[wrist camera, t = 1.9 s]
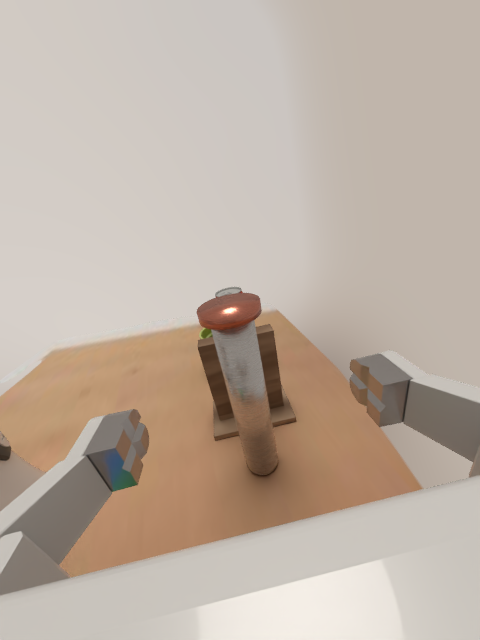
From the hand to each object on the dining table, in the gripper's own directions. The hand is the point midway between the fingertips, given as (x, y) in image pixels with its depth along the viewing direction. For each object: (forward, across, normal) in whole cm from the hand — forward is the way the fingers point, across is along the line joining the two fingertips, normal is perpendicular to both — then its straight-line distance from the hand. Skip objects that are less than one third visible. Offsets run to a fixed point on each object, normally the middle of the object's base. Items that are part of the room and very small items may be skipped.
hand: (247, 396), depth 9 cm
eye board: (+20, 0, -22) cm, 30 cm away
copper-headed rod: (+17, 0, -22) cm, 27 cm away
